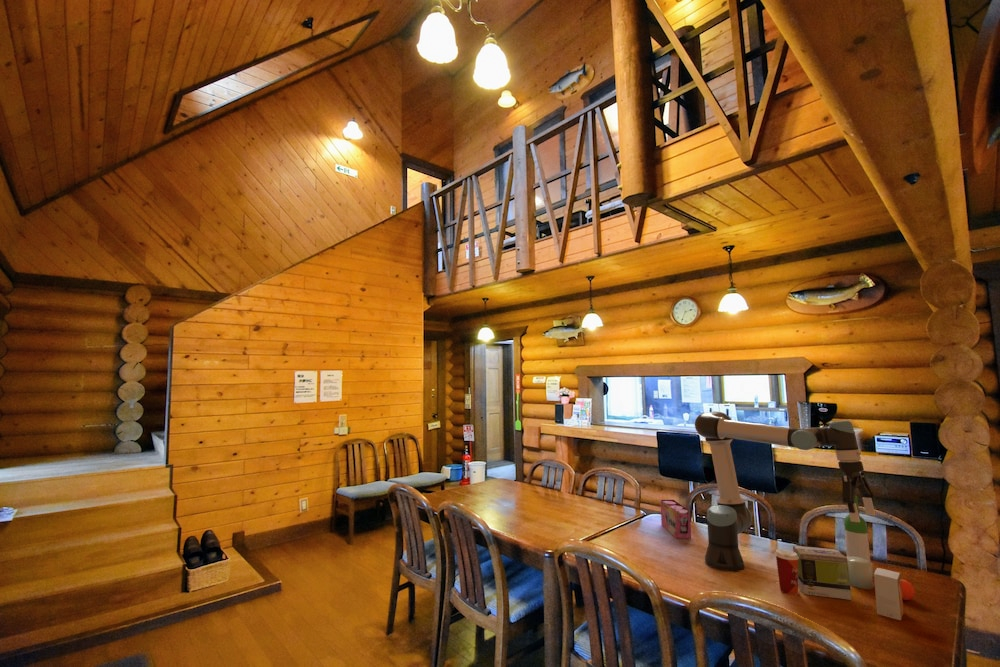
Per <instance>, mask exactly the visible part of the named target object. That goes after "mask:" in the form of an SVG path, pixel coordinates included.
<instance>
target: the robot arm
mask: <svg viewBox="0 0 1000 667" xmlns="http://www.w3.org/2000/svg"><path fill="white" fill-rule="evenodd" d="M694 428H695V431H696V432H697V433H698V435H700V436H701V437H703V438H704V439H705V443H707V444H708V445H709V447H710V451H711V452H710V453H711V457H712V463H713V467H714V474H715V479H716V485H717V489H718V494H719V498H718V500H716V504H717V505H712V506H710V507H708V509H707V511H706V520H707V521H706V522H707V538H708V544H707V547H706V548H707V549H706V553H705V555H704V563H705V564H706V565H707V566H708V567H710V568H713V569H715V568H716V569H715V570H719V571H724V572H733V573H735V572H741V571H743V570H744V569H745V562H744V560H743V557H742V554H741V552H740V549H739V534H741V533H743V532H746V531H747V530H748V529H749V528H750V526H751V525H752V521H753V515H752V513H751V511H750V509H749V508H748V507H747V505H746V501H745V499H744V498H742V497H741V494H740V493H741V492H740V489H739V483H738V479H737V472H736V467H735V464H734V456H733V453H732V448H731V443H732V441H733V439H735V440H742V441H748V442H755V443H762V444H763V443H764V444H770V445H775V446H776V445H777V446H781V447H782V446H784V447H788V448H789V447H791V448H795V449H798V450H801V451H809V450H812V449H815V448H817V447H827V446H828V447H829V446H830V447H831V446H832V447H834V450H835V455H836V459H837V461H838V462H837V464H838V467H839V471H840V472H842V473H845V475H841V484H842V485H841V486H842V487H841V488H842V503H843V504H846V506H847V510H848V515H850V519H851V521H852V522H860V518H859V515H860V513H859V514H858V510H857V506H856V503H854V501H855V495H856V491H857V490H856V489H858V491H859V493H861V495H862V496H863V497H861V498H862V503H863V506H864V510H865V515H866V516H872V517H875V516H876V512H875V506H874V504H873V500H872V498H874V497H875V494H874V492H873V490H872V488H871V486H870V484H869V482H868V479H867V478H866V474H865V471H864V470H865V468H864V465H863V462H862V461H861V460H862V457H861V454H862V452H860V449H859V445H858V444H859V443H858V441H857V437H856V431H855V429H854V426H853V422H852V421H850V420H835V421H829V422H828V426H822V427H821V426H820V427H818V426H817V427H801V428H795V427H786V426H779V425H770V424H769V425H768V424H761V423H755V422H754V423H752V422H745V421H738V420H737V421H736V420H732V418H731V416H729V414H727V413H724V412H721V411H711V412H703V413H700V414H699V415H698V416H697V417H696V418H695V420H694Z"/></svg>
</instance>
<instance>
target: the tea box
mask: <svg viewBox="0 0 1000 667" xmlns="http://www.w3.org/2000/svg"><path fill="white" fill-rule="evenodd" d="M792 551H793V552H795V553H796V554H797V555H798V557H799V559H798V589H800V590H801V592H802V593H803V594H804V595H808V596H809V595H810V596H816V597H817V596H818V597H825V598H834V599H840V600H847V601H852V600H853V599H852V590H851V585H850V579H849V570H848V562H847V558H846V557H847V556H845V555H844V554H842V553H841V552H840V551H839V550H838V549H836V548H823V547H817V546H816V547H815V546H802V545H792Z"/></svg>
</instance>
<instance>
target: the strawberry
mask: <svg viewBox="0 0 1000 667" xmlns="http://www.w3.org/2000/svg"><path fill="white" fill-rule="evenodd" d="M900 579H901V591H902V601H910V600H912V599H913V598H914V596H915V595H916V592H915V588H914V586H913V585H912V583H911V582H909V581H907V580H906V579H904V578H901V577H900Z"/></svg>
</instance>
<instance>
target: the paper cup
mask: <svg viewBox="0 0 1000 667" xmlns="http://www.w3.org/2000/svg"><path fill="white" fill-rule="evenodd" d="M774 556H775V558H776V566H777V575H778V582H779V583H778V584H779V589H780V591H781V592H782V593H783V594H786V595H790V596H796V595H798V594H799V586H798V559H799V557H798V555H797V554H796V553H795V552H793V550H788V549H776V550H775V553H774Z"/></svg>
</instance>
